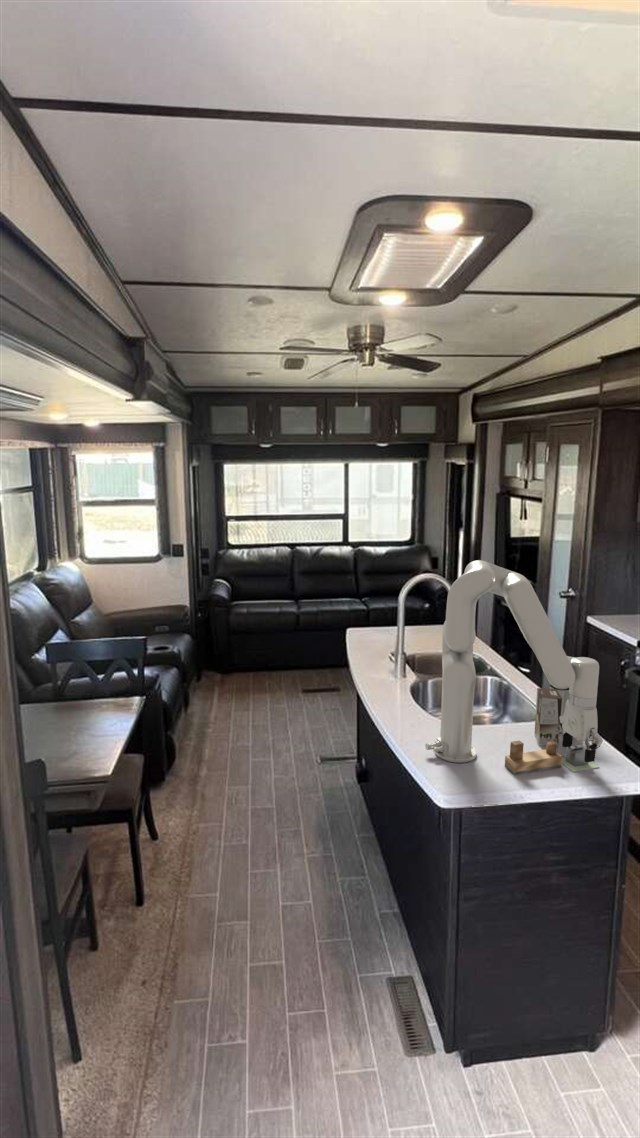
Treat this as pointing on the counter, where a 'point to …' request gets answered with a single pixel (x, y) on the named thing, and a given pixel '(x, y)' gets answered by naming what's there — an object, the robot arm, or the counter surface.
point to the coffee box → (547, 716)
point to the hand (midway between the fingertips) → (578, 753)
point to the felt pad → (579, 768)
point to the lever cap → (576, 755)
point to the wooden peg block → (532, 758)
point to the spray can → (565, 696)
